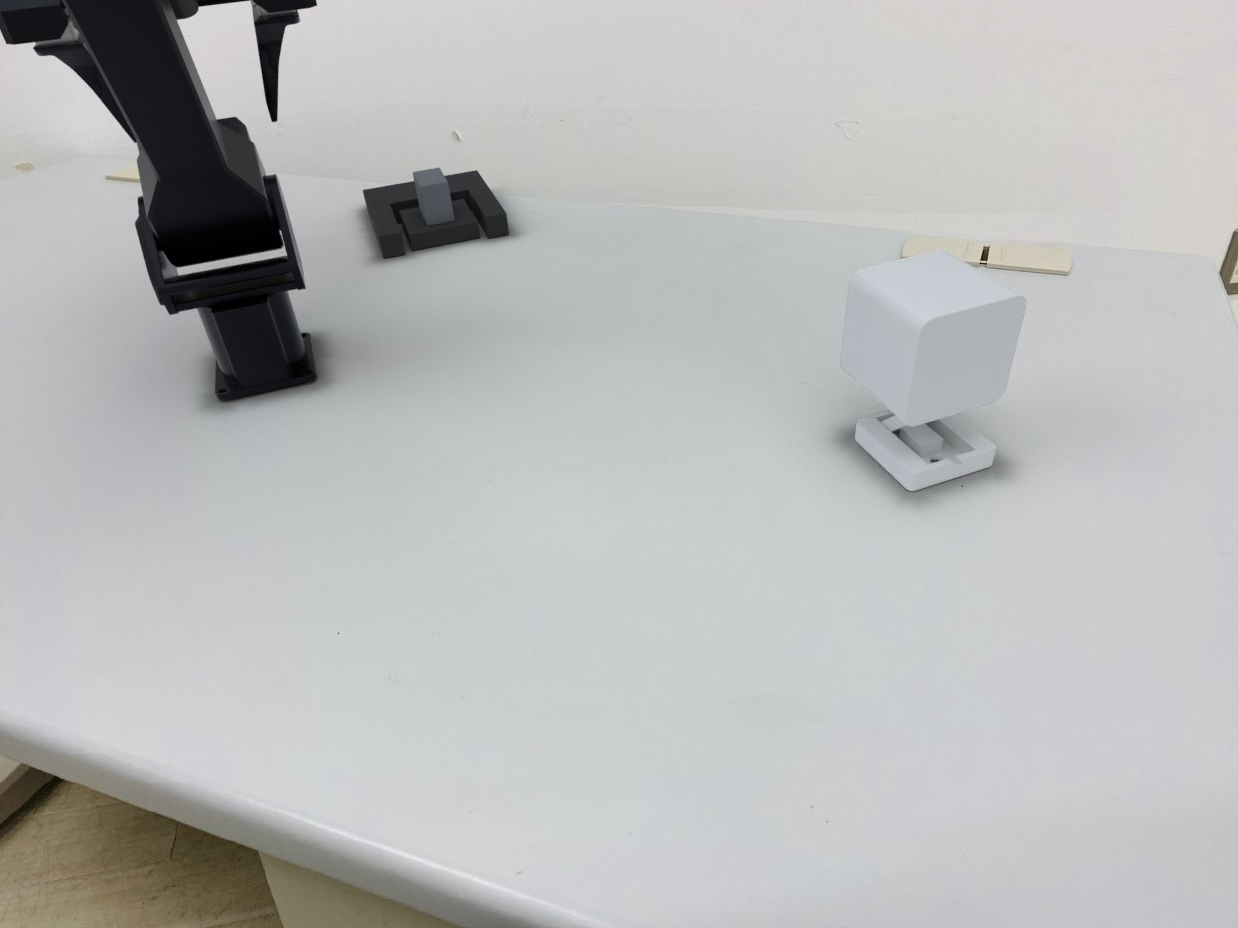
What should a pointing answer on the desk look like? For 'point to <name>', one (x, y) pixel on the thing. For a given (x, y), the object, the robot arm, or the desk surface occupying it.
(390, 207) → the black flat u-shaped piece
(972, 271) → the security camera
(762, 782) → the desk surface
